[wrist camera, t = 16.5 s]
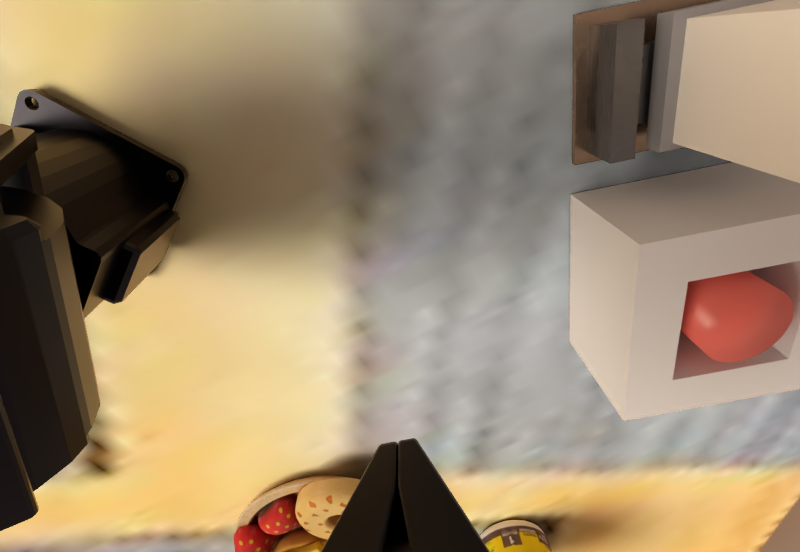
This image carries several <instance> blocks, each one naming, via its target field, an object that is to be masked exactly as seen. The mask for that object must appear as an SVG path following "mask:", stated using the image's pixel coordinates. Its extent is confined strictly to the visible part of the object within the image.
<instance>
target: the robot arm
mask: <svg viewBox="0 0 800 552" xmlns="http://www.w3.org/2000/svg"><path fill="white" fill-rule="evenodd" d="M32 97H33V98H35V99H36V100H37V102H38V103H39V108H36V107H35V106H34V105H33V103H32ZM170 170H172V171H175V172H176V173H177V174H178V176H179V178H178V180H177V179H174V178H172V177H171V175H170ZM187 179H188V173H187V171H186V169H185V168H184V167H183V166H182V165H181V164H179V163H177V162H175V161H173V160H171V159H170V158H168V157H166V156H164V155H162V154H160V153H158V152H156V151H154V150H153V149H151V148H149V147H147V146H145V145H143V144H141V143H139V142H137V141H135V140H134V139H132V138H130V137H128V136H126V135H124V134H122V133H120V132H118V131H117V130H115V129H113V128H111V127H109V126H107V125H105V124H103V123H101V122H100V121H98V120H96V119H94V118H92V117H90V116H88V115H86V114H84V113H82V112H81V111H79V110H77V109H75V108H73V107H71V106H69V105H67V104H65V103H64V102H62V101H60V100H58V99H56V98H54V97H52V96H50V95H48V94H47V93H45V92H43V91H41V90H38V89H28V90H23V91H21V92H20V93H19V94H18V97H17V101H16V105H15V110H14V114H13V118H12V123H11V126H8V125H4V124H0V531H2V530H4V529H6V528H9V527H11V526H13V525H16V524H18V523H21V522H23V521H25V520H28V519H30V518H32V517H33V516H34V515H36V513H37V512H38V505H37V502H36V499H35V496H34V493H33V491H34V490H36V489H38V488H39V487H40V486H41V485H43V484H44V483H45V482H47V481H48V480H49V479H50V478H52V477H53V476H54V475H55V474H57V473H58V472H59V471H61V470H62V469H63V468H64V467H66V466H67V465H68V464H69V463H71V462H72V461H73V460H74V459H75V457H76V456H77V455H78V454H79V453H80V452H81V451H82V450H83V448H84V447H85V446H86V445H87V444H88V442H89V435H88V432H89V431H90V429H91V428H92V425H93V423H94V420H95V417H96V415H97V412H98V409H99V407H100V399H99V393H98V386H97V381H96V376H95V371H94V366H93V361H92V356H91V351H90V346H89V341H88V336H87V331H86V325H85V320H84V318H85V317H86V316H87V315H88V314H90V313H91V312H92V311H93V310H94V309H95V308H96V307H97V306H98V305H99V304H100V303H101V302H102V301H103V300H105V301H108V302H110V303H113V304H116V303H119V302H122V301H123V300H124V299H125V298H126V297H127V296H128V295H129V294H130V293H131V292H132V291H133V290H134V289H135V288H136V287H137V286H138V285H139V284H140V283H141V282H142V281H143V279H144V278H145V277H146V276H147V275H148V274H149V273H150V272H151V271H152V270H153V269H154V268H155V267H156V266H157V265H158V264H159V263H160V262H161V261H162V260H163V258H164V255H165V253H166V251H167V248H168V246H169V244H170V241H171V239H172V237H173V234H174V232H175V230H176V227H177V225H178V223H179V220H180V217H179V215H178V212H176V211H174V210H175V208H176V205H177V203H178V201H179V198H180V196H181V194H182V191H183V189H184V186H185V184H186V182H187ZM321 552H490V551H489V550H488V548H487V547H486V545H485V544H484V542H483V541H482V539H481V537H480V536H479V534H478V533H477V531H476V530H475V528H474V527H473V525H472V524H471V522H470V521H469V519H468V518H467V516H466V515H465V513H464V511H463V510H462V508H461V507H460V505H459V504H458V502H457V501H456V499H455V498H454V496H453V495H452V493H451V492H450V490H449V488H448V487H447V485H446V484H445V482H444V481H443V479H442V478H441V476H440V475H439V473H438V472H437V470H436V469H435V467H434V465H433V464H432V462H431V461H430V459H429V458H428V456H427V455H426V453H425V452H424V450H423V449H422V447H421V446H420V444H419V443H418V441H417V440H416V439H414V438H412V439H407V440H401V441H399V443H397V442H390V443H385V444H381V445H379V447H378V448H377V450H376V452H375V454H374V456H373V457H372V459H371V461H370V463H369V465H368V467H367V468H366V470H365V472H364V474H363V476H362V478H361V479H360V481H359V483H358V485H357V487H356V489H355V490H354V492H353V494H352V496H351V498H350V500H349V501H348V503H347V505H346V507H345V509H344V511H343V512H342V514H341V516H340V518H339V520H338V522H337V523H336V525H335V527H334V529H333V531H332V533H331V534H330V536H329V538H328V540H327V542H326V544H325V545H324V547H323V549H322V551H321Z"/></svg>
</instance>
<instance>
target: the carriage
mask: <svg viewBox="0 0 800 552" xmlns="http://www.w3.org/2000/svg"><path fill="white" fill-rule="evenodd" d="M686 147H687V148H690V149H693V150H696V151H699V152H702V153H706V154H709V155H712V156H715V157H718V158H721V159H725V160H728V161H731V162H734V163H737V164H740V165H744V166H747V167H750V168H753V169H756V170H759V171H762V172H766V173H769V174H772V175H775V176H778V177H781V178H785V179H788V180H791V181H794V182H797V183H800V0H720V1H716V2H711V3H706V4H701V5H696V6H692V7H687V8H682V9H677V10H673V11H668V12H663V13H658V14H657V24H656V35H655V47H654V58H653V69H652V80H651V92H650V103H649V114H648V126H647V137H646V148H647V149H650V150H653V151H656V152H658V153H661V152H666V151H671V150H676V149H681V148H686Z"/></svg>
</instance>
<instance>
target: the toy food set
mask: <svg viewBox="0 0 800 552" xmlns="http://www.w3.org/2000/svg"><path fill="white" fill-rule="evenodd" d="M359 481H360V479H356V478H351V477H344V476H330V475H326V476H312V477H305V478H300V479H296V480H293V481H290V482H287V483H284V484H282V485H280V486H278V487H276V488H274V489H271V490H269V491H268V492H266V493H264V494H262V495H261V496H259V497H258V498H257V499H255V500H254V501H253V502H252V503H251V504H250V505H249V506H248V507H247V508H246V509H245V510H244V511H243V513H242V514H241V516H240V518H239V520H238V522H237V524H236V528H235V534H234V545H235V552H321V551H322V549H323V547H324V545H325V544H326V542H327V540H328V538H329V536H330V534H331V533H332V531H333V529H334V527H335V525H336V523H337V522H338V520H339V518H340V516H341V514H342V512H343V511H344V509H345V507H346V505H347V503H348V501H349V500H350V498H351V496H352V494H353V492H354V490H355V489H356V487H357V485H358V483H359Z"/></svg>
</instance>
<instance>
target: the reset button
mask: <svg viewBox="0 0 800 552" xmlns="http://www.w3.org/2000/svg"><path fill="white" fill-rule="evenodd" d="M793 314H794V306H793V302H792V300H791V298H790V297H789V296H788V295H787V294H786V293H785V292H783V291H781V290H780V289H778V288H776V287H775V286H773V285H771V284H770V283H768V282H766V281H764V280H763V279H761V278H759V277H758V276H756V275H754V274H753V273H751V272H749V271H743V272H738V273H733V274H727V275H722V276H717V277H712V278H706V279H701V280H696V281H691V282H688V286H687V292H686V299H685V305H684V311H683V318H682V324H681V330H680V331H681V332H682V333H683V334H684V335H686V336H687V337H688V338H689V339H690V340H691V341H692V342H693V343H694V344H695V345H697V346H698V347H699V348H700V349H701V350H702V351H703V352H704V353H705V354H706V355H708V356H709V357H710V358H712V359H713V360H716V361H720V362H739V361H743V360H746V359H749V358H752V357H754V356H757V355H758V354H760V353H762V352H764V351H765V350H767V349H768V348H770V347H771V346H772V345H774V344H775V343H776V342H777V341H778V340H779V339H780V338H781V337H782V336H783V335H784V333H785V332H786V330H787V329H788V327H789V325H790V324H791V321H792V318H793Z"/></svg>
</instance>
